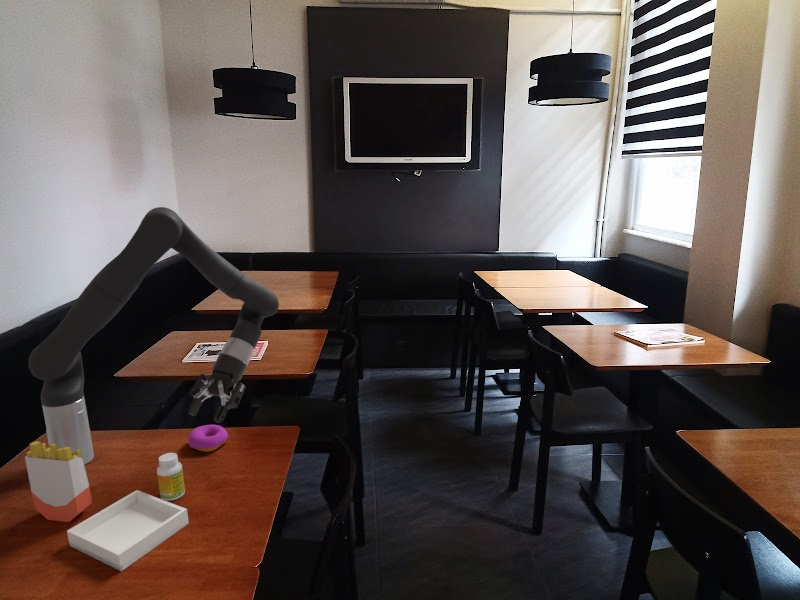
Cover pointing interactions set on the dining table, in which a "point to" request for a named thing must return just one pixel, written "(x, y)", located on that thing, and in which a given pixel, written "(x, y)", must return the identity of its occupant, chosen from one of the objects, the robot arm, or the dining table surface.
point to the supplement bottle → (170, 477)
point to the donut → (207, 437)
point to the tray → (127, 529)
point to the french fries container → (57, 481)
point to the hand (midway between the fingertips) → (203, 418)
